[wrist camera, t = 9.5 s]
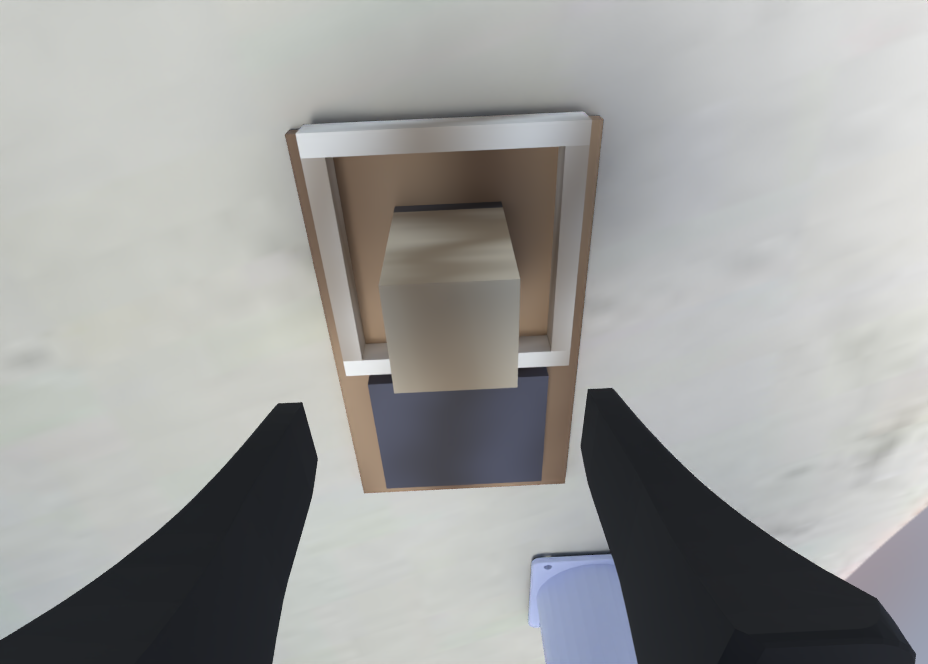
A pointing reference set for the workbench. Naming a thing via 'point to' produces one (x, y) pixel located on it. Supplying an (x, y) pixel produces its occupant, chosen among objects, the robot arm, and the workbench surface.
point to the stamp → (451, 298)
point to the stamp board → (539, 265)
